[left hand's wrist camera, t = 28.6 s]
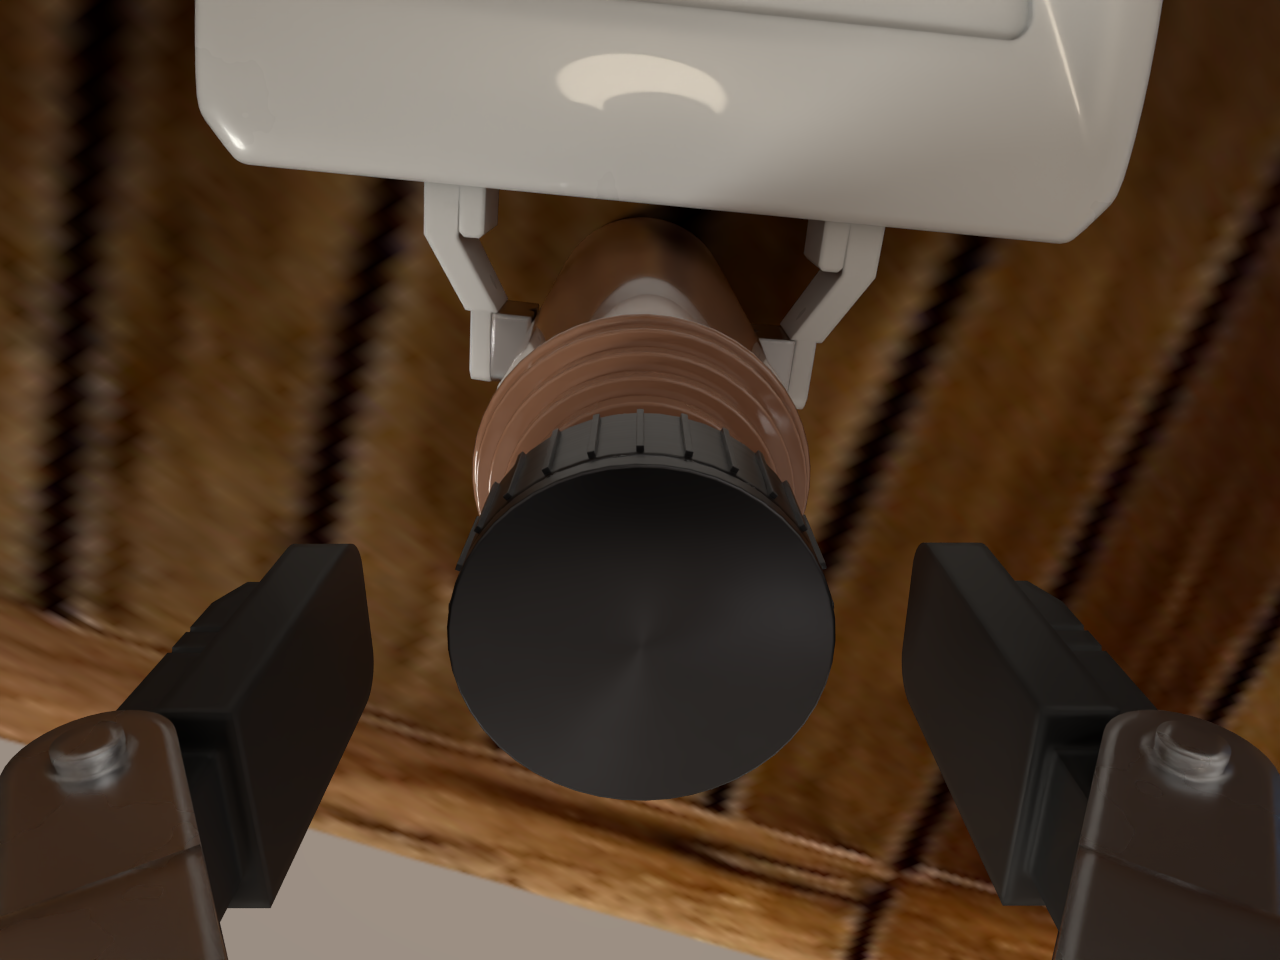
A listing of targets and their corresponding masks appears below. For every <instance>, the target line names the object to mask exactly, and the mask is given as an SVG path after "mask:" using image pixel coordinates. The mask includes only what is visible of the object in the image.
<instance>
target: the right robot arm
mask: <svg viewBox="0 0 1280 960" xmlns="http://www.w3.org/2000/svg"><path fill="white" fill-rule="evenodd" d="M1162 2H1163V0H195V69H196V89H197V99H198V104H199V108H200V111H201V114H202V116H203V117H204V119H205V121H206V122H207V123H208V125H209V126H210V127H211V129H212V130H213V131H214V133H215V134H216V135H217V137H218V138H219V139H220V141H221V142H222V143H223V145H224V146H225V147H226V149H227V150H228V151H229V152H230V153H231V155H232V156H233V157H234V158H235V159H236V160H238V161H239V162H241V163H244V164H249V165H258V166H267V167H277V168H288V169H298V170H308V171H319V172H329V173H339V174H349V175H360V176H370V177H380V178H390V179H401V180H411V181H421V182H424V235H425V237H426V239H427V240H428V242H429V244H430V246H431V248H432V249H433V251H434V253H435V255H436V257H437V259H438V260H439V262H440V264H441V266H442V268H443V270H444V271H445V273H446V275H447V277H448V279H449V281H450V282H451V284H452V286H453V288H454V290H455V292H456V293H457V295H458V297H459V299H460V301H461V302H462V304H463V306H464V308H465V310H469V311H471V328H470V375H471V379H476V380H483V381H491V380H492V381H500V382H501V380H502V378H503V376H504V374H505V372H506V370H507V369H508V367H509V365H510V363H511V361H512V359H513V358H514V356H515V354H516V352H517V350H518V348H519V347H520V345H521V343H522V341H523V339H524V337H525V336H526V334H527V332H528V330H529V328H530V326H531V324H532V323H533V321H534V319H535V317H536V315H537V313H538V312H539V304H536V303H527V302H519V301H510V300H507V299H508V298H507V296H506V294H505V292H504V290H503V288H502V285H501V283H500V281H499V279H498V277H497V275H496V273H495V271H494V269H493V267H492V265H491V263H490V261H489V259H488V257H487V255H486V253H485V250H484V248H483V246H482V244H481V242H480V240H479V238H480V237H482V236H483V235H484V234H486V233H487V232H488V231H490V230H491V229H493V228H494V227H495V226H496V225H497V223H498V200H499V189H503V190H514V191H524V192H534V193H544V194H555V195H565V196H575V197H585V198H596V199H606V200H616V201H626V202H637V203H647V204H657V205H668V206H678V207H688V208H698V209H709V210H719V211H729V212H739V213H750V214H760V215H770V216H780V217H791V218H801V219H809V220H808V227H807V234H806V241H805V248H804V255H805V256H806V258H807V259H808V260H809V261H811V262H812V263H813V264H814V265H816V266H817V267H818V268H819V269H820V270H819V272H818V273H817V274H816V276H815V277H814V278H813V280H812V281H811V282H810V284H809V285H808V286H807V288H806V289H805V290H804V292H803V293H802V294H801V296H800V297H799V299H798V300H797V301H796V303H795V304H794V305H793V307H792V308H791V309H790V311H789V312H788V313H787V315H786V316H785V317H784V319H783V320H782V321H781V323H780V325H781V326H778V325H764V324H751V325H752V327H753V329H754V331H755V333H756V335H757V336H758V338H759V340H760V342H761V344H762V346H763V347H764V349H765V351H766V353H767V355H768V357H769V359H770V360H771V362H772V364H773V366H774V368H775V370H776V371H777V373H778V375H779V377H780V379H781V381H782V382H783V384H784V386H785V388H786V390H787V392H788V393H789V395H790V397H791V399H792V401H793V403H794V405H795V407H796V409H803V407H804V406H805V403H806V400H807V396H808V390H809V384H810V378H811V372H812V366H813V360H814V354H815V348H816V343H822V342H823V341H824V340H825V338H826V337H827V336H828V335H829V333H830V332H831V331H832V330H833V329H834V327H835V326H836V325H837V324H838V323H839V321H840V320H841V319H842V318H843V317H844V315H845V314H846V313H847V312H848V310H849V309H850V308H851V307H852V306H853V304H854V303H855V302H856V301H857V300H858V298H859V297H860V296H861V295H862V293H863V292H864V291H865V290H866V289H867V287H868V286H869V285H870V284H871V283H872V281H873V280H874V279H875V278H876V272H877V267H878V262H879V257H880V252H881V246H882V241H883V236H884V231H885V227H893V228H904V229H914V230H924V231H934V232H945V233H955V234H965V235H975V236H986V237H996V238H1006V239H1017V240H1027V241H1038V242H1048V243H1059V244H1061V243H1067V242H1069V241H1071V240H1073V239H1074V238H1075V237H1077V236H1078V235H1079V234H1080V233H1081V232H1083V231H1084V230H1085V229H1086V228H1087V227H1088V226H1089V225H1090V224H1091V223H1092V222H1093V221H1094V220H1096V219H1097V218H1098V217H1099V216H1100V215H1101V214H1102V213H1103V212H1104V211H1105V210H1106V209H1107V208H1108V207H1109V206H1110V205H1111V204H1112V202H1113V201H1114V199H1115V198H1116V196H1117V194H1118V192H1119V189H1120V187H1121V185H1122V182H1123V180H1124V176H1125V173H1126V170H1127V167H1128V164H1129V160H1130V156H1131V152H1132V149H1133V145H1134V141H1135V138H1136V133H1137V129H1138V125H1139V121H1140V117H1141V113H1142V109H1143V104H1144V100H1145V95H1146V90H1147V86H1148V81H1149V76H1150V71H1151V66H1152V61H1153V55H1154V50H1155V45H1156V39H1157V34H1158V27H1159V21H1160V15H1161V9H1162Z"/></svg>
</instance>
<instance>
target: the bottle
mask: <svg viewBox="0 0 1280 960" xmlns="http://www.w3.org/2000/svg"><path fill="white" fill-rule="evenodd" d="M637 409H644V413H654V414H665V415H671V416H677V417H680V415H681V413H683V414H687V415H688V419H690V420H693V421H696V422H700V423H703V424H706V425H708V426H711V427H713V428H715V429H717V430H719V431H721V429H722V428H725V429H727V430H728V431H729V434H730V436H731V437H733V438H734V439H736V440H738V441H739V442H741V443H742V444H744V445H746V446H747V447H748V448H749V449H751V450H752V451H753V452H754V453H756V452H757V451H758V450H759V451H760V452H761V453H763V455H764V458H765V461H766V463H767V465H768V466H769V467H770V468H771V469H772V470H773V471H774V472H775V473H776V474H777V476H778V477H779V479H780V480H781V481H782V482H784V481H785V480H787V481H788V483H789V484H790V487H791V489H792V492H793V494H794V496H795V499H796V501H797V504H798V506H799V509H800V511H801V513H802V515H804V512H805V509H806V505H807V499H808V493H809V488H810V458H809V448H808V443H807V439H806V435H805V431H804V427H803V424H802V421H801V419H800V416H799V414H798V412H797V409H796V407H795V405H794V403H793V401H792V399H791V397H790V395H789V393H788V392H787V390H786V388H785V386H784V384H783V382H782V381H781V379H780V377H779V375H778V373H777V371H776V370H775V368H774V366H773V364H772V362H771V360H770V359H769V357H768V355H767V353H766V351H765V349H764V347H763V346H762V344H761V342H760V340H759V338H758V336H757V335H756V333H755V331H754V329H753V327H752V325H751V324H750V322H749V320H748V318H747V316H746V314H745V313H744V311H743V309H742V307H741V305H740V303H739V301H738V300H737V298H736V296H735V294H734V292H733V290H732V289H731V287H730V285H729V283H728V281H727V279H726V278H725V276H724V274H723V272H722V270H721V268H720V267H719V265H718V263H717V261H716V260H715V258H714V256H713V255H712V253H711V252H710V251H709V250H708V248H707V247H706V246H705V245H704V244H703V243H702V242H701V241H700V240H699V239H698V238H697V237H695V236H694V235H693V234H691V233H690V232H689V231H687V230H685V229H683V228H682V227H680V226H678V225H675V224H673V223H670V222H668V221H664V220H660V219H655V218H645V217H641V218H628V219H623V220H619V221H615V222H612V223H609V224H607V225H605V226H603V227H601V228H599V229H597V230H596V231H594V232H593V233H591V234H590V235H588V236H587V237H586V238H585V239H584V240H582V241H581V242H580V243H579V244H578V246H577V247H576V248H575V249H574V250H573V251H572V253H571V254H570V256H569V257H568V259H567V260H566V262H565V264H564V266H563V267H562V269H561V271H560V273H559V275H558V277H557V278H556V280H555V282H554V284H553V286H552V288H551V289H550V291H549V293H548V295H547V297H546V299H545V301H544V302H543V304H542V306H541V308H540V310H539V312H538V313H537V315H536V317H535V319H534V321H533V323H532V324H531V326H530V328H529V330H528V332H527V334H526V336H525V337H524V339H523V341H522V343H521V345H520V347H519V348H518V350H517V352H516V354H515V356H514V358H513V359H512V361H511V363H510V365H509V367H508V369H507V370H506V372H505V374H504V376H503V378H502V380H501V382H500V383H499V385H498V387H497V389H496V391H495V393H494V394H493V396H492V398H491V400H490V402H489V404H488V406H487V408H486V411H485V413H484V415H483V417H482V420H481V423H480V426H479V429H478V433H477V436H476V441H475V447H474V453H473V468H472V480H473V489H474V498H475V502H476V506H477V510H478V514H479V516H480V514H481V511H482V509H483V507H484V504H485V502H486V499H487V497H488V494H489V492H490V490H491V487H492V485H493V484H494V482H497V483H500V482H501V480H502V479H503V478H504V477H505V476H506V474H507V473H508V472H509V471H510V470H511V468H512V467H513V466H514V465H515V462H516V460H517V457H518V455H519V454H520V453H521V452H522V451H523V452H524V453H525V454H527V453H528V452H529V451H530V450H532V449H533V448H535V447H536V446H537V445H539V444H540V443H542V442H543V441H545V440H546V439H548V438H549V437H551V435H552V431H553V430H555V429H557V428H559V430H560V432H561V431H563V430H565V429H567V428H569V427H572V426H575V425H577V424H580V423H583V422H586V421H589V420H592V419H593V415H595V414H600V417H606V416H611V415H617V414H624V413H625V414H629V413H637Z"/></svg>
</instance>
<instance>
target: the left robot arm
mask: <svg viewBox="0 0 1280 960" xmlns="http://www.w3.org/2000/svg"><path fill="white" fill-rule="evenodd" d="M373 666H374V660H373V647H372V639H371V631H370V623H369V615H368V607H367V599H366V591H365V583H364V575H363V568H362V561H361V557H360V554H359V551H358V549H357V547H356V546H355V545H353V544H292V545H290V546H289V547H288V548H287V550H286V551H285V552H284V553H283V554H282V556H281V557H280V558H279V559H278V560H277V562H276V563H275V564H274V565H273V567H272V568H271V569H270V570H269V571H268V573H267V574H266V575H265V576H264V577H263V579H262V580H261V581H260V582H247V583H245V584H243V585H242V586H240V587H238V588H237V589H235V590H233V591H231V592H230V593H228V594H226V595H225V596H223V597H221V598H220V599H218V600H216V601H214V602H213V603H212V604H211V605H210V606H209V607H208V608H207V609H206V610H205V611H204V613H203V614H202V615H201V616H200V617H199V618H198V619H197V620H196V622H195V623H194V624H193V625H192V626H191V627H190V632H186V633H185V634H184V635H183V636H182V637H181V638H180V639H179V641H178V642H177V643H176V644H175V645H174V646H173V647H172V653H167V654H166V655H165V656H164V657H163V659H162V660H161V661H160V662H159V663H158V664H157V665H156V666H155V668H154V669H153V670H152V671H151V672H150V673H149V674H148V675H147V677H146V678H145V679H144V680H143V681H142V682H141V683H140V684H139V686H138V687H137V688H136V689H135V690H134V691H133V692H132V693H131V695H130V696H129V697H128V698H127V699H126V700H125V701H124V702H123V704H122V705H121V706H120V707H119V708H118V709H117V710H116V711H111V712H104V713H99V714H95V715H91V716H87V717H84V718H81V719H78V720H74V721H72V722H69V723H67V724H64V725H62V726H59V727H57V728H55V729H53V730H51V731H49V732H47V733H45V734H43V735H42V736H40V737H38V738H37V739H35V740H33V741H32V742H31V743H29V744H28V745H27V746H25V747H24V748H23V749H21V750H20V751H19V752H18V753H17V754H16V755H15V756H14V757H13V758H12V759H11V760H10V761H9V762H8V764H7V765H6V766H5V768H4V770H3V771H2V773H1V775H0V960H228V957H227V952H226V948H225V943H224V939H223V934H222V930H221V926H220V921H221V919H222V917H223V915H224V913H225V911H226V910H227V908H271V906H272V904H273V902H274V900H275V897H276V895H277V893H278V891H279V889H280V887H281V885H282V883H283V880H284V878H285V876H286V874H287V872H288V870H289V868H290V865H291V863H292V861H293V859H294V857H295V855H296V853H297V851H298V848H299V846H300V844H301V842H302V840H303V838H304V836H305V834H306V831H307V829H308V827H309V825H310V823H311V821H312V819H313V817H314V814H315V812H316V810H317V808H318V806H319V804H320V802H321V800H322V797H323V795H324V793H325V791H326V789H327V787H328V785H329V783H330V780H331V778H332V776H333V774H334V772H335V770H336V768H337V766H338V763H339V761H340V759H341V757H342V755H343V753H344V751H345V749H346V746H347V744H348V742H349V740H350V738H351V736H352V734H353V732H354V729H355V727H356V725H357V723H358V721H359V719H360V717H361V715H362V712H363V710H364V708H365V706H366V704H367V701H368V699H369V695H370V691H371V686H372V680H373ZM902 675H903V683H904V688H905V693H906V696H907V699H908V702H909V704H910V706H911V708H912V710H913V713H914V715H915V717H916V719H917V721H918V723H919V726H920V728H921V730H922V732H923V734H924V736H925V739H926V741H927V743H928V745H929V747H930V749H931V751H932V754H933V756H934V758H935V760H936V762H937V764H938V767H939V769H940V771H941V773H942V775H943V777H944V780H945V782H946V784H947V786H948V788H949V790H950V792H951V795H952V797H953V799H954V801H955V803H956V805H957V808H958V810H959V812H960V814H961V816H962V818H963V821H964V823H965V825H966V827H967V829H968V831H969V833H970V836H971V838H972V840H973V842H974V844H975V846H976V849H977V851H978V853H979V855H980V857H981V859H982V862H983V864H984V866H985V868H986V870H987V872H988V874H989V877H990V879H991V881H992V883H993V885H994V887H995V890H996V892H997V894H998V896H999V898H1000V900H1001V903H1002V905H1046V907H1047V909H1048V911H1049V913H1050V915H1051V917H1052V919H1053V921H1054V923H1055V925H1056V927H1057V929H1058V934H1057V939H1056V943H1055V948H1054V952H1053V957H1052V960H1280V775H1279V773H1278V771H1277V770H1276V768H1275V766H1274V765H1273V764H1272V762H1271V761H1270V760H1269V759H1268V758H1267V757H1266V756H1265V755H1264V754H1263V753H1262V752H1261V751H1260V750H1259V749H1257V748H1256V747H1255V746H1253V745H1252V744H1251V743H1249V742H1248V741H1247V740H1245V739H1243V738H1242V737H1240V736H1238V735H1237V734H1235V733H1233V732H1231V731H1229V730H1227V729H1225V728H1223V727H1221V726H1218V725H1216V724H1213V723H1211V722H1208V721H1206V720H1202V719H1199V718H1196V717H1193V716H1189V715H1185V714H1181V713H1176V712H1169V711H1162V710H1157V709H1156V707H1155V706H1154V705H1153V704H1152V703H1151V702H1150V701H1149V699H1148V698H1147V697H1146V696H1145V695H1144V694H1143V693H1142V692H1141V690H1140V689H1139V688H1138V687H1137V686H1136V685H1135V684H1134V682H1133V681H1132V680H1131V679H1130V678H1129V677H1128V676H1127V675H1126V673H1125V672H1124V671H1123V670H1122V669H1121V668H1120V667H1119V665H1118V664H1117V663H1116V662H1115V661H1114V660H1113V659H1112V657H1111V656H1110V655H1109V654H1108V653H1107V652H1106V651H1102V650H1101V645H1100V644H1099V643H1098V642H1097V640H1096V639H1095V638H1094V637H1093V636H1092V635H1091V634H1090V633H1089V631H1084V629H1083V625H1082V623H1081V622H1080V621H1079V620H1078V619H1077V618H1076V617H1075V615H1074V614H1073V613H1072V612H1071V611H1070V610H1069V609H1068V608H1067V606H1066V605H1065V604H1064V603H1063V602H1062V601H1060V600H1059V599H1057V598H1055V597H1054V596H1052V595H1050V594H1049V593H1047V592H1045V591H1043V590H1042V589H1040V588H1038V587H1037V586H1035V585H1033V584H1032V583H1030V582H1028V581H1014V579H1013V578H1012V577H1011V576H1010V575H1009V573H1008V572H1007V571H1006V570H1005V568H1004V567H1003V566H1002V565H1001V564H1000V562H999V561H998V560H997V559H996V557H995V556H994V555H993V554H992V553H991V551H990V550H989V549H988V548H987V546H985V545H984V544H983V543H921V544H920V545H919V546H918V548H917V550H916V553H915V556H914V561H913V568H912V576H911V584H910V592H909V600H908V608H907V617H906V625H905V633H904V641H903V649H902Z"/></svg>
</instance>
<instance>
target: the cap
mask: <svg viewBox="0 0 1280 960" xmlns="http://www.w3.org/2000/svg"><path fill="white" fill-rule="evenodd" d="M826 568H827V567H826V564H825V561H824V559H823V556H822V554H821V552H820V549H819V547H818V544H817V542H816V540H815V537H814V535H813V532H812V530H811V528H810V525H809V523H808V521H807V518H806V516H805V515H802V513H801V511H800V509H799V506H798V504H797V501H796V499H795V496H794V494H793V492H792V489H791V487H790V484H789V483H788V481H787V480H785V481H784V482H782V481H781V480H780V479H779V477H778V476H777V474H776V473H775V472H774V471H773V470H772V469H771V468H770V467H769V466H768V465H767V463H766V461H765V458H764V455H763V453H761V452H760V451H759V450H758V451H757V452H756V453H754V452H753V451H752V450H751V449H749V448H748V447H747V446H746V445H744V444H742V443H741V442H739V441H738V440H736V439H734V438H733V437H731V436H730V434H729V431H728V430H727V429H725V428H722V429H721V431H719V430H717V429H715V428H713V427H711V426H708V425H706V424H703V423H700V422H696V421H693V420H690V419H688V415H687V414H683V413H681V415H680V417H677V416H671V415H665V414H654V413H644V409H637V413H629V414H625V413H624V414H617V415H611V416H606V417H600V414H595V415H593V419H592V420H589V421H586V422H583V423H580V424H577V425H575V426H572V427H569V428H567V429H565V430H563V431H561V432H560V430H559V428H557V429H555V430H553V431H552V435H551V437H549V438H548V439H546V440H545V441H543V442H542V443H540V444H539V445H537V446H536V447H535V448H533V449H532V450H530V451H529V452H528V453H527V454H525V453H524V452H523V451H522V452H521V453H520V454H519V455H518V457H517V460H516V462H515V465H514V466H513V467H512V468H511V470H510V471H509V472H508V473H507V474H506V476H505V477H504V478H503V479H502V480H501V482H500V483H497V482H494V484H493V485H492V487H491V490H490V492H489V494H488V497H487V499H486V502H485V504H484V507H483V509H482V511H481V514H480V516H477V517H476V520H475V522H474V525H473V527H472V529H471V532H470V534H469V537H468V539H467V541H466V544H465V546H464V549H463V551H462V553H461V556H460V558H459V561H458V563H457V566H456V569H455V570H458V571H460V572H459V575H458V577H457V580H456V582H455V586H454V590H453V593H452V597H451V600H450V603H449V614H448V623H447V637H448V651H449V656H450V661H451V667H452V671H453V674H454V677H455V680H456V682H457V685H458V688H459V691H460V693H461V695H462V697H463V699H464V701H465V703H466V705H467V706H468V708H469V710H470V712H471V713H472V715H473V716H474V718H475V719H476V720H477V722H478V723H479V725H480V726H481V728H482V729H483V730H484V731H485V732H486V733H487V734H488V736H489V737H490V738H491V739H492V740H493V741H494V742H495V743H496V744H497V745H498V746H499V747H500V748H501V749H502V750H504V751H505V752H506V753H507V754H508V755H510V756H511V757H512V758H513V759H514V760H516V761H517V762H519V763H520V764H522V765H523V766H525V767H526V768H528V769H529V770H531V771H532V772H534V773H536V774H538V775H540V776H542V777H544V778H546V779H548V780H550V781H552V782H554V783H556V784H559V785H562V786H564V787H567V788H570V789H573V790H575V791H579V792H583V793H587V794H591V795H595V796H599V797H606V798H613V799H620V800H644V801H647V800H660V799H671V798H677V797H682V796H688V795H693V794H696V793H700V792H703V791H707V790H710V789H713V788H716V787H719V786H721V785H723V784H726V783H728V782H731V781H733V780H735V779H737V778H739V777H741V776H743V775H745V774H746V773H748V772H750V771H752V770H754V769H755V768H757V767H758V766H760V765H761V764H762V763H764V762H765V761H767V760H768V759H769V758H771V757H772V756H774V755H775V754H776V753H777V752H778V751H779V750H780V749H781V748H782V747H783V746H784V745H786V744H787V743H788V742H789V741H790V740H791V739H792V738H793V736H794V735H795V734H796V733H797V732H798V730H799V729H800V728H801V727H802V726H803V725H804V723H805V722H806V720H807V719H808V717H809V716H810V714H811V712H812V711H813V709H814V708H815V706H816V705H817V703H818V700H819V698H820V696H821V694H822V692H823V689H824V687H825V685H826V682H827V679H828V676H829V672H830V669H831V665H832V661H833V654H834V647H835V615H834V603H833V600H832V597H831V594H830V591H829V588H828V585H827V582H826V579H825V576H824V573H823V571H822V570H823V569H826Z"/></svg>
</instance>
